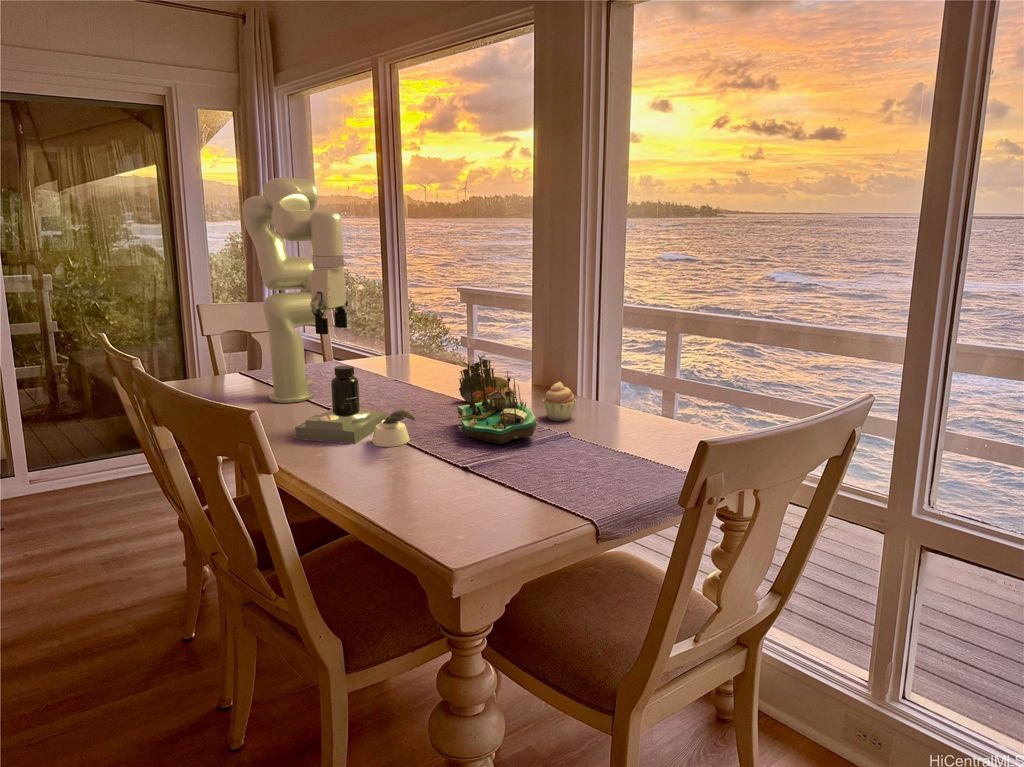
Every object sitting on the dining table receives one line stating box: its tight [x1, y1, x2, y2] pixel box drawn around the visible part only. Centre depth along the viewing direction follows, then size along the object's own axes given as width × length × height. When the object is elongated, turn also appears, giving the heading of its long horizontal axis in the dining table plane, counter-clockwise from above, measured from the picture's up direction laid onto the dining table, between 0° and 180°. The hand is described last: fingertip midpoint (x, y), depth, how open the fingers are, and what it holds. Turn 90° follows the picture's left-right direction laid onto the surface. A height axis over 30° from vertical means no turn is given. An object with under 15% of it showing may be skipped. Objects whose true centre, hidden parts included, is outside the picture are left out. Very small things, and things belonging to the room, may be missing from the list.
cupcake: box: [541, 381, 578, 422], centre depth 192 cm, size 9×9×10 cm
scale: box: [294, 408, 388, 445], centre depth 183 cm, size 18×16×6 cm
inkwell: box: [371, 408, 416, 448], centre depth 170 cm, size 9×18×10 cm, turn 38°
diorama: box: [456, 354, 539, 445], centre depth 178 cm, size 19×25×19 cm
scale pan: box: [323, 406, 371, 423], centre depth 185 cm, size 12×12×1 cm
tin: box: [459, 375, 508, 404], centre depth 208 cm, size 15×3×8 cm, turn 68°
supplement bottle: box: [330, 365, 361, 416], centre depth 184 cm, size 7×7×12 cm
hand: (331, 330), depth 183 cm, fingers open, 9 cm apart
